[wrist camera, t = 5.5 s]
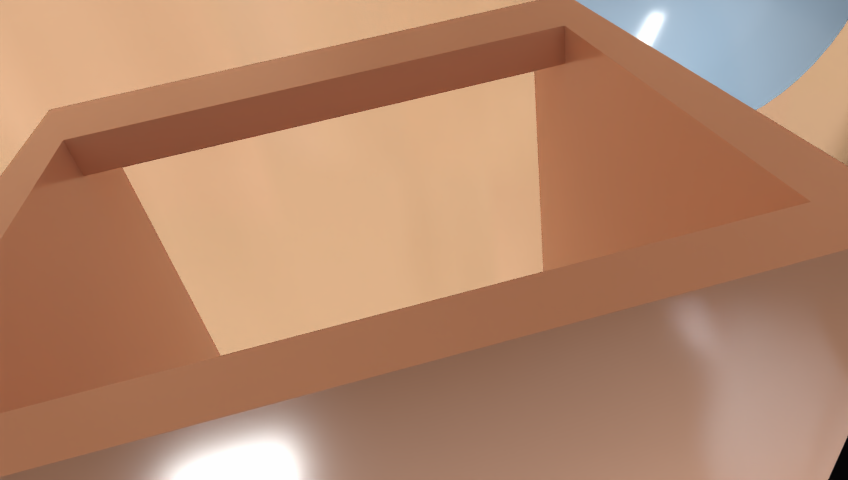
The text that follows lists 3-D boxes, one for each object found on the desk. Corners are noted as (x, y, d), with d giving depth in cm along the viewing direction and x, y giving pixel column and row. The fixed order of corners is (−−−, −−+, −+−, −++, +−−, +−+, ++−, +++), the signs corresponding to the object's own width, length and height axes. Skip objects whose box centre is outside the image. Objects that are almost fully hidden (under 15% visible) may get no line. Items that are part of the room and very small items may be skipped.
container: (564, -7, 9) (944, 223, 4) (569, 342, 13) (748, 658, 8) (50, 109, 8) (-279, 552, 3) (234, 434, 12) (212, 831, 8)
